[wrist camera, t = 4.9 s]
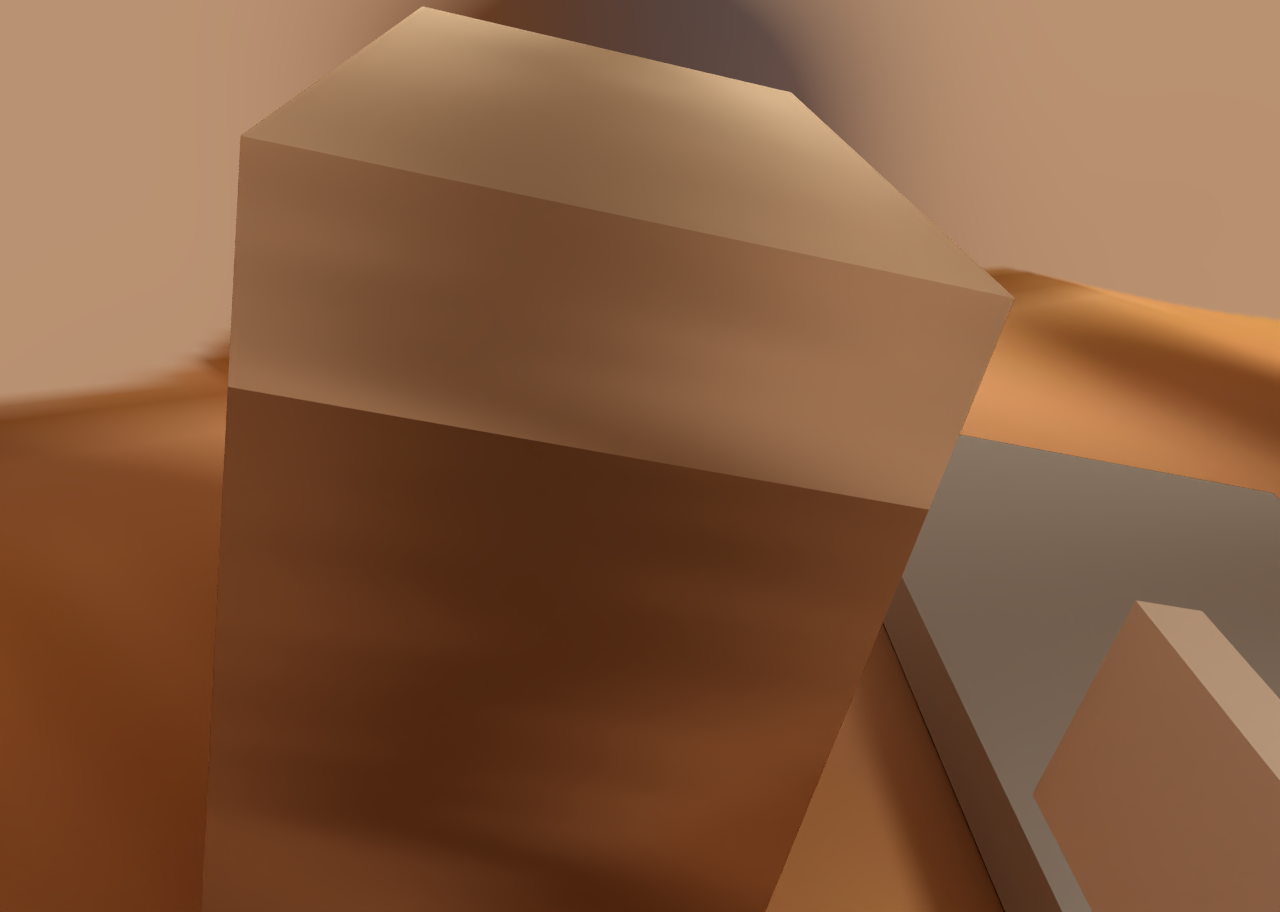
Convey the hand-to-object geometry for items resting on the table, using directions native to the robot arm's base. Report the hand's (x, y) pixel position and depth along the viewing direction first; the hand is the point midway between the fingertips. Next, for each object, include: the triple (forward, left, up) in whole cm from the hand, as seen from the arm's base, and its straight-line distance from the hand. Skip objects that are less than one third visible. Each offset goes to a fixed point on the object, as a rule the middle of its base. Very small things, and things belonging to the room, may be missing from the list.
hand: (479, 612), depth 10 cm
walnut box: (-1, -4, -6) cm, 7 cm away
